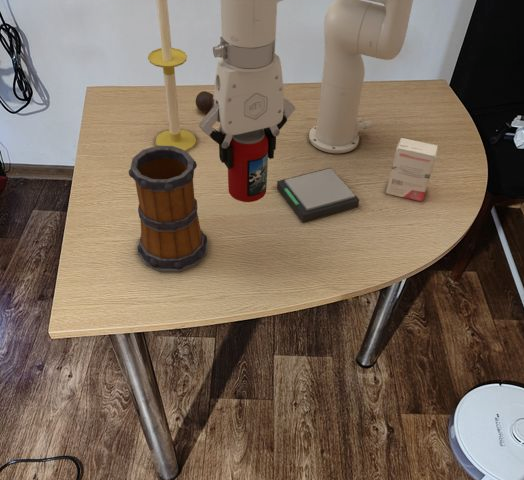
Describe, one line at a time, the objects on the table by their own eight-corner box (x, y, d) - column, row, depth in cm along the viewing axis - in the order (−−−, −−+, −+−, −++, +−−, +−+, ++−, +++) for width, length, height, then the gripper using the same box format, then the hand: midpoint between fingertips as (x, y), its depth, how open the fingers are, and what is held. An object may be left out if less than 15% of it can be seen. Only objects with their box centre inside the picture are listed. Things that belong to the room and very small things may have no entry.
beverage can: (262, 208, 96) (264, 147, 86) (224, 202, 96) (222, 140, 87) (269, 184, 100) (272, 123, 90) (233, 179, 100) (232, 117, 91)
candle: (162, 127, 140) (142, -46, 110) (200, 133, 139) (190, -41, 109) (150, 149, 134) (124, -28, 104) (189, 155, 133) (175, -22, 103)
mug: (129, 216, 119) (112, 130, 103) (195, 206, 122) (189, 121, 106) (143, 278, 108) (126, 193, 92) (215, 266, 110) (211, 181, 95)
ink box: (425, 190, 128) (440, 144, 119) (422, 202, 125) (437, 156, 116) (388, 181, 129) (400, 135, 120) (384, 194, 127) (396, 147, 117)
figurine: (234, 110, 149) (197, 99, 148) (237, 93, 145) (200, 81, 144) (228, 127, 144) (191, 116, 143) (232, 110, 140) (193, 98, 139)
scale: (329, 174, 130) (331, 165, 128) (358, 207, 123) (360, 197, 121) (276, 188, 126) (277, 178, 124) (302, 222, 119) (303, 213, 117)
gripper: (200, 73, 74) (207, 184, 88) (315, 50, 78) (303, 160, 93) (181, 48, 78) (191, 158, 92) (291, 28, 82) (284, 136, 97)
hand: (247, 158), depth 92 cm, fingers closed on beverage can, 6 cm apart
